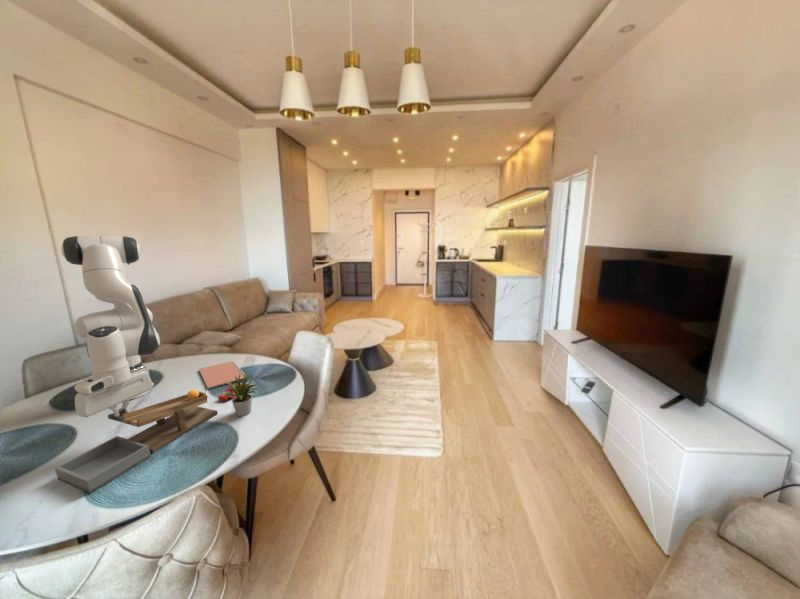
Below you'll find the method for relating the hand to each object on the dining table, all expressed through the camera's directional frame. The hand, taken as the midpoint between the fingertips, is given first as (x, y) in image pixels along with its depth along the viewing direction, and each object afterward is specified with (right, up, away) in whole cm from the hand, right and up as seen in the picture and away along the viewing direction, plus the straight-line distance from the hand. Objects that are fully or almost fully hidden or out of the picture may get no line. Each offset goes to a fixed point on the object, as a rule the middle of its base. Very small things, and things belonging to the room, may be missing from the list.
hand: (121, 414), depth 107 cm
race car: (+20, -4, +34) cm, 39 cm away
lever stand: (+11, -9, +9) cm, 16 cm away
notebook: (+4, 0, +54) cm, 54 cm away
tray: (+4, -13, -10) cm, 17 cm away
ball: (+14, +2, +16) cm, 21 cm away
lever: (+7, -2, +9) cm, 11 cm away
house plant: (+31, -7, +18) cm, 37 cm away
